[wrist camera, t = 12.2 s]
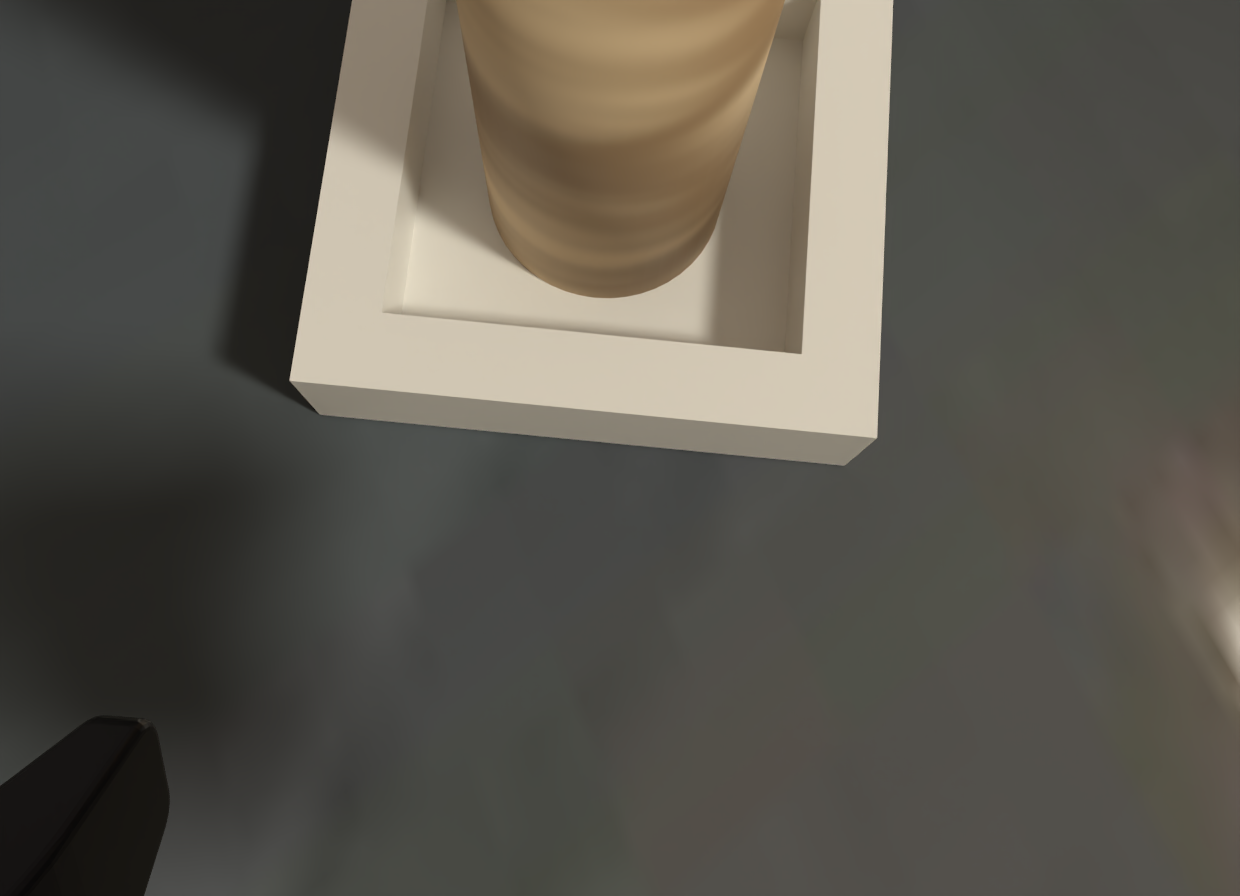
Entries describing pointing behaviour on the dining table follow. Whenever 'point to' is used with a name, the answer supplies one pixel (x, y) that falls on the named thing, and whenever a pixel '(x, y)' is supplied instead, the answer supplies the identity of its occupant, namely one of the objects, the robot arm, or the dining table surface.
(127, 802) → the robot arm
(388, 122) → the tool holder
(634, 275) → the wooden tool handle
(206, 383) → the dining table surface
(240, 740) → the dining table surface
